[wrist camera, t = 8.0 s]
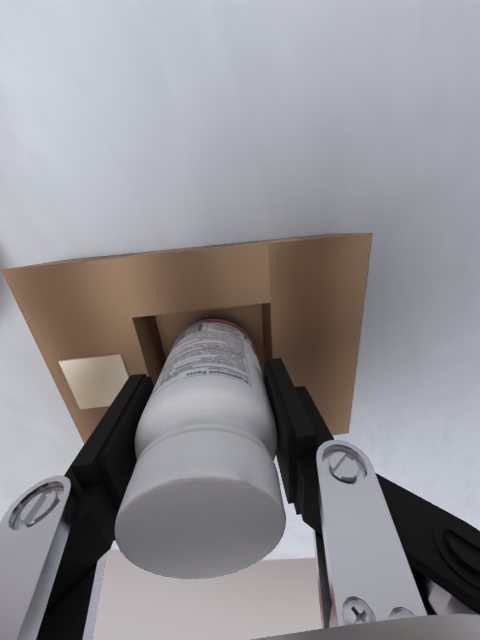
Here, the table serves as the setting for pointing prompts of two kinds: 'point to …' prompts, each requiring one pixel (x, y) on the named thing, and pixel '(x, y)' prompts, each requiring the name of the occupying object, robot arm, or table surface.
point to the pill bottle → (204, 462)
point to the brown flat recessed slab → (200, 314)
